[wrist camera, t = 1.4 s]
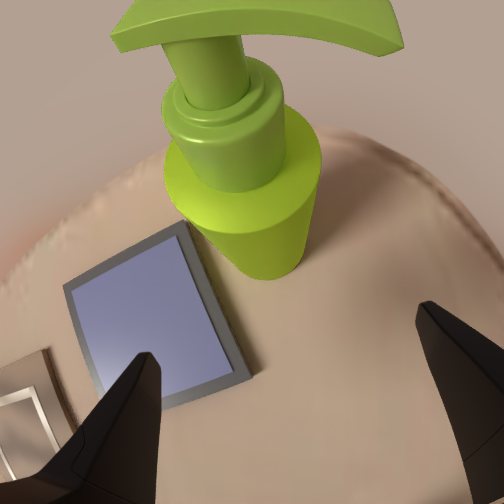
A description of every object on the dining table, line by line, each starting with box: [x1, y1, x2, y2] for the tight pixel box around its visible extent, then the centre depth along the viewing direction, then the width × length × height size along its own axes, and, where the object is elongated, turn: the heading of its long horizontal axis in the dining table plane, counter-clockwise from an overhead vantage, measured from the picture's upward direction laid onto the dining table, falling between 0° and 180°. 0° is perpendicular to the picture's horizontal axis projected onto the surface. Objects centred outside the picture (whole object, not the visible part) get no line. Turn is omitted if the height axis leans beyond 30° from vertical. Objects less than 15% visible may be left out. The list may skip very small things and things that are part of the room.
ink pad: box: [63, 220, 253, 410], centre depth 23 cm, size 13×13×1 cm
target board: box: [0, 350, 77, 482], centre depth 21 cm, size 20×20×1 cm
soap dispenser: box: [110, 0, 404, 280], centre depth 14 cm, size 6×7×20 cm
